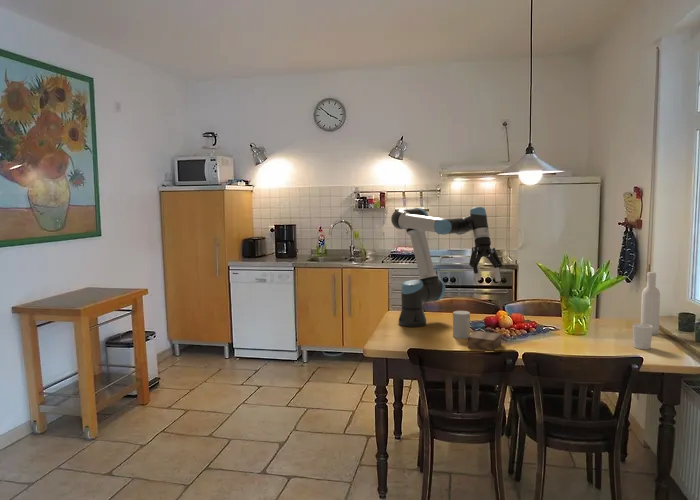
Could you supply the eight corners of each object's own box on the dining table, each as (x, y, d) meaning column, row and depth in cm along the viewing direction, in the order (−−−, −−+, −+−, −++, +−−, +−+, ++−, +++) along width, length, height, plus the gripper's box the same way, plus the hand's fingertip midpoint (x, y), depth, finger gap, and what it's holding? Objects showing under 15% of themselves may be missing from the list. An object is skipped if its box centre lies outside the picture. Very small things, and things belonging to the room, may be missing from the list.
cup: (470, 338, 252) (470, 314, 251) (453, 338, 254) (452, 314, 252) (469, 334, 260) (469, 310, 259) (453, 333, 262) (453, 310, 260)
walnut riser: (467, 347, 238) (467, 336, 237) (476, 341, 248) (476, 330, 247) (493, 351, 232) (493, 340, 231) (501, 344, 242) (501, 333, 241)
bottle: (643, 329, 262) (645, 270, 259) (660, 332, 256) (663, 272, 253) (637, 333, 256) (640, 272, 253) (655, 335, 251) (658, 274, 247)
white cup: (627, 345, 236) (628, 323, 235) (644, 344, 237) (645, 323, 236) (639, 350, 228) (639, 328, 227) (656, 349, 229) (656, 327, 228)
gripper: (469, 234, 245) (475, 278, 239) (505, 238, 258) (512, 279, 253) (458, 238, 251) (464, 281, 245) (493, 242, 264) (500, 283, 259)
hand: (488, 280), depth 249 cm, fingers open, 13 cm apart
